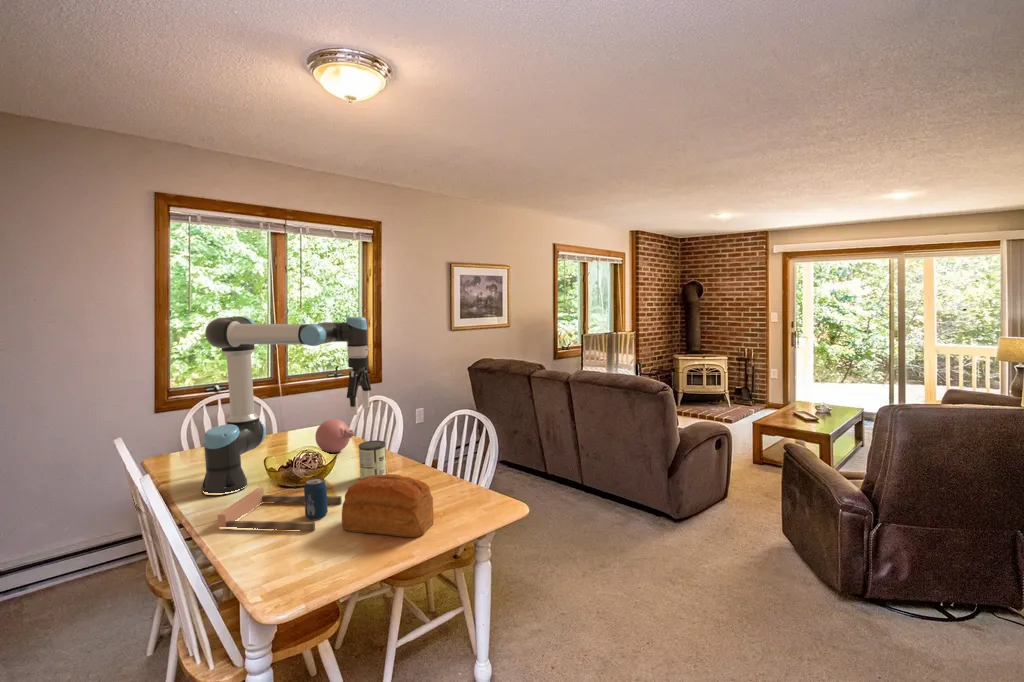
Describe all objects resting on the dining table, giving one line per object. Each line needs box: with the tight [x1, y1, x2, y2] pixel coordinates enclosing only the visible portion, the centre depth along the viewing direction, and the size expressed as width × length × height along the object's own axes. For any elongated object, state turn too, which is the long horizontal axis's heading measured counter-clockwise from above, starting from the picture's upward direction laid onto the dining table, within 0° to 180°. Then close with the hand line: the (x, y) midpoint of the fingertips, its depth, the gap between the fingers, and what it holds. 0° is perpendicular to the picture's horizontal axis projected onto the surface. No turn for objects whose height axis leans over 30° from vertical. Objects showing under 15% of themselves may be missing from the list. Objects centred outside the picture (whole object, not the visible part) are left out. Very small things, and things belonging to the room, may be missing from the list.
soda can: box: [303, 477, 329, 520], centre depth 173 cm, size 7×7×12 cm
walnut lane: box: [226, 494, 343, 532], centre depth 174 cm, size 28×22×2 cm
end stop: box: [217, 487, 265, 528], centre depth 175 cm, size 2×22×5 cm, turn 176°
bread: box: [341, 473, 435, 538], centre depth 165 cm, size 16×27×16 cm, turn 76°
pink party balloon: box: [314, 418, 356, 454], centre depth 244 cm, size 15×20×15 cm
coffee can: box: [358, 440, 387, 480], centre depth 208 cm, size 10×10×14 cm
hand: (360, 410), depth 206 cm, fingers open, 13 cm apart
